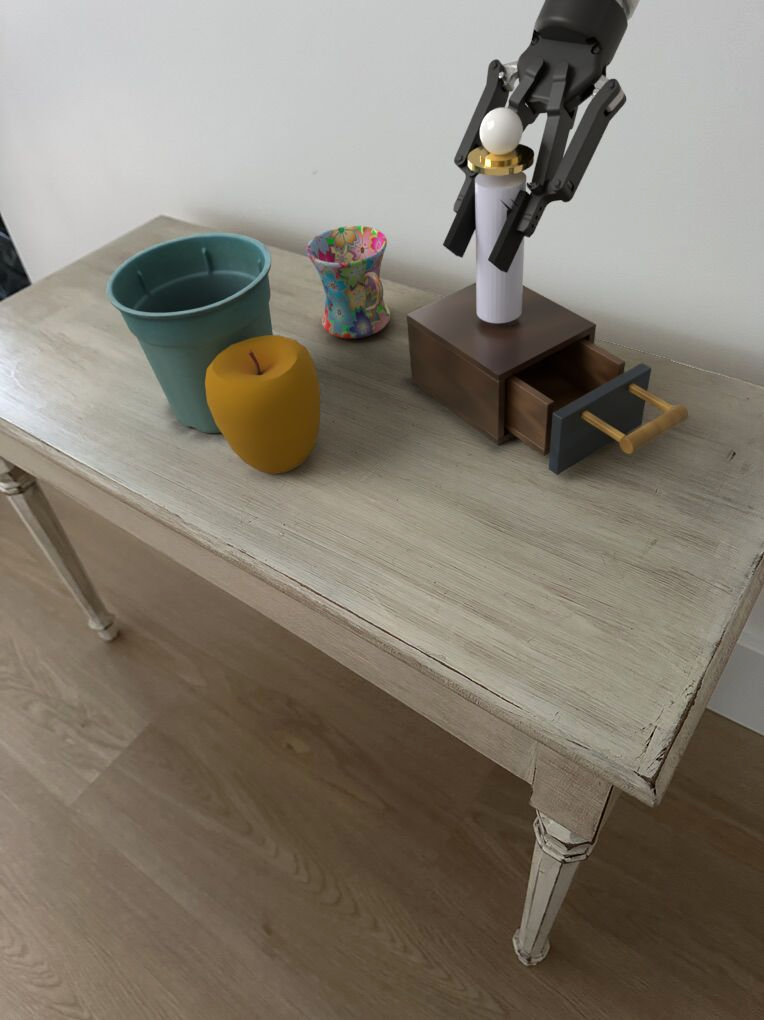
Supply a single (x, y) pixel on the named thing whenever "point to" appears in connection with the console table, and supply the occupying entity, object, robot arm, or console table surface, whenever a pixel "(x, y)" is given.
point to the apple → (266, 401)
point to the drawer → (583, 405)
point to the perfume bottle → (498, 211)
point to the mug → (351, 280)
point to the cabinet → (484, 352)
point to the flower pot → (193, 310)
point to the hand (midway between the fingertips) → (474, 258)
